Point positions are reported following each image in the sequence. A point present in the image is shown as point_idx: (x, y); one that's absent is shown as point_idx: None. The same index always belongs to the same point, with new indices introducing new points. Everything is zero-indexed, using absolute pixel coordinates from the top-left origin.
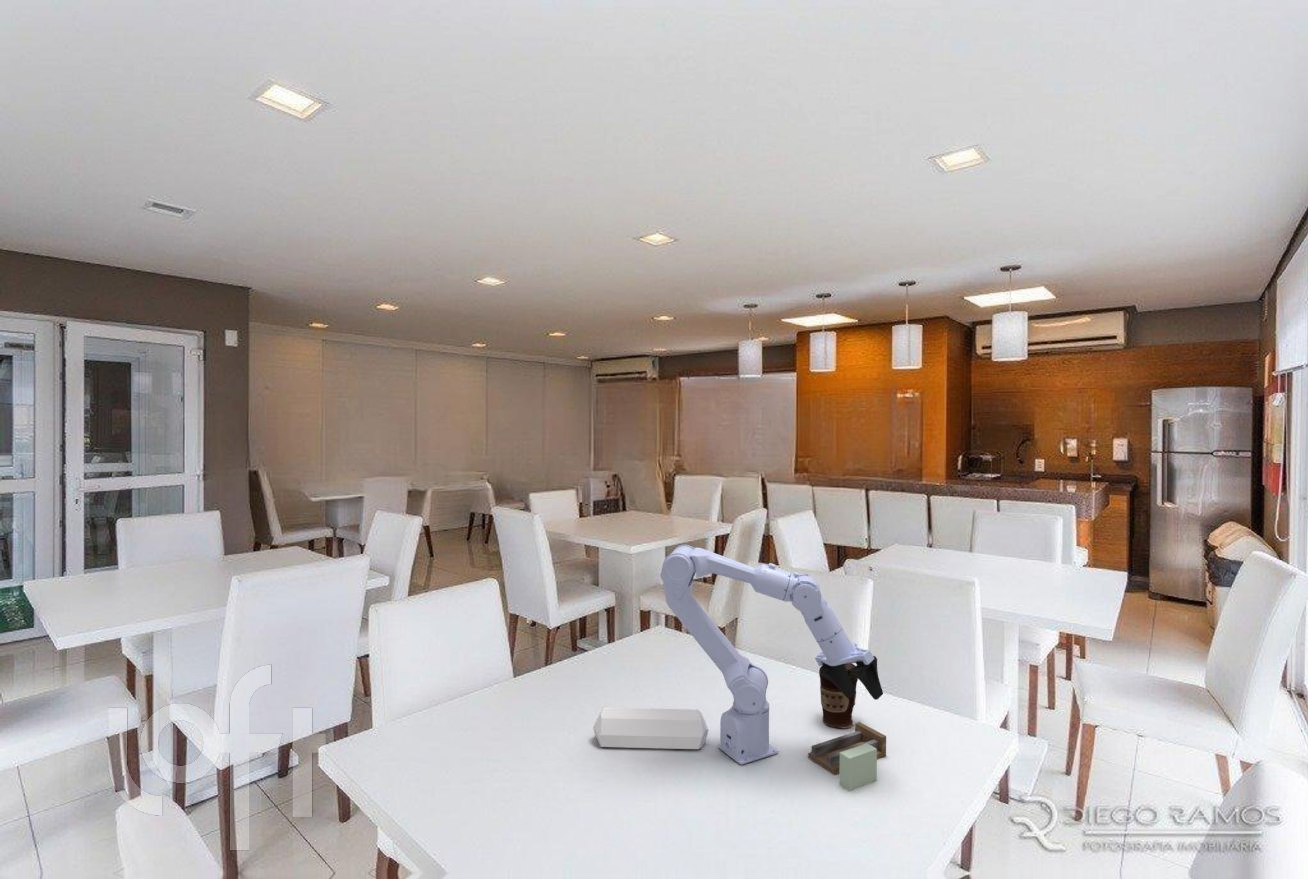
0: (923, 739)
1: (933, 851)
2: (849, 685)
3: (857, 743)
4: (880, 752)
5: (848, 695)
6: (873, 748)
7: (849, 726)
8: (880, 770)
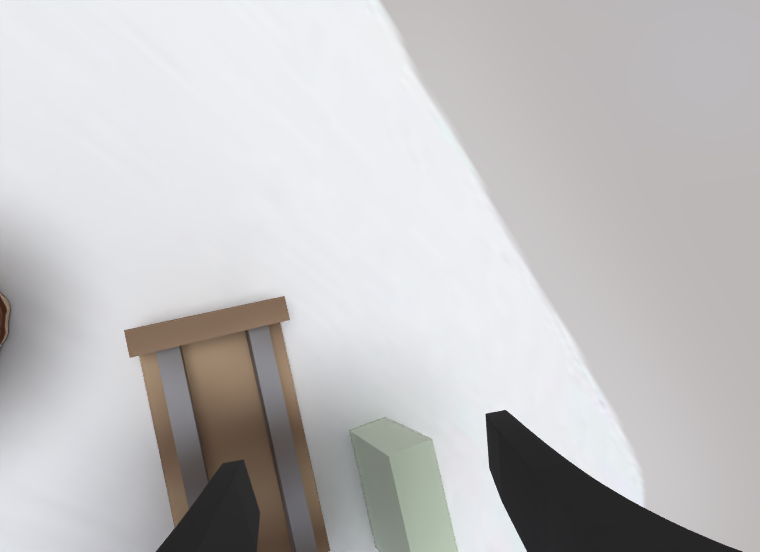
0: (212, 99)
1: (615, 441)
2: (229, 530)
3: (190, 371)
4: (278, 326)
5: (254, 528)
6: (426, 450)
7: (7, 307)
8: (342, 373)
